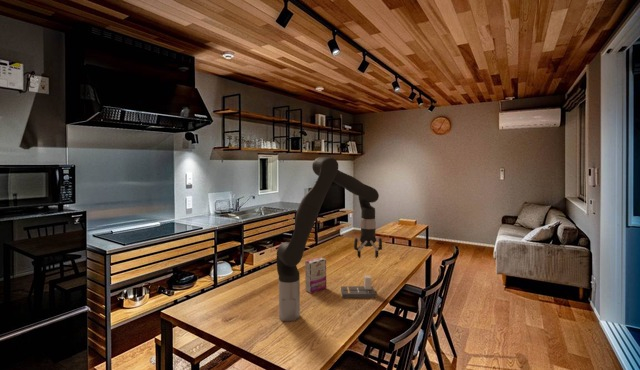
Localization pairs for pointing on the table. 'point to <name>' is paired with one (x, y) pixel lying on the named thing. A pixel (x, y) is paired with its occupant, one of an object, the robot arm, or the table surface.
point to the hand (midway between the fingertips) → (367, 257)
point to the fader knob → (367, 282)
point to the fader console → (357, 292)
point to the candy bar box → (315, 274)
